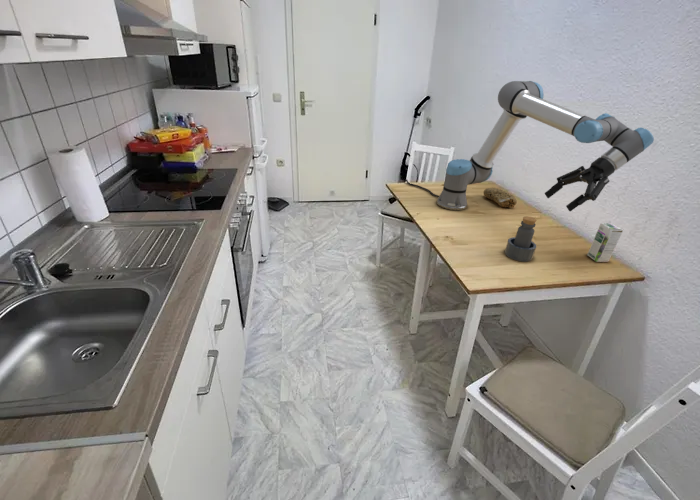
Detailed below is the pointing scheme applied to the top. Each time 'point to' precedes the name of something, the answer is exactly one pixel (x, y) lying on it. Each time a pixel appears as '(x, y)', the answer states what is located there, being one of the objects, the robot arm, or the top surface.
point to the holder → (519, 251)
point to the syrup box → (604, 242)
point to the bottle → (525, 232)
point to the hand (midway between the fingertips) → (556, 202)
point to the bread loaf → (500, 197)
